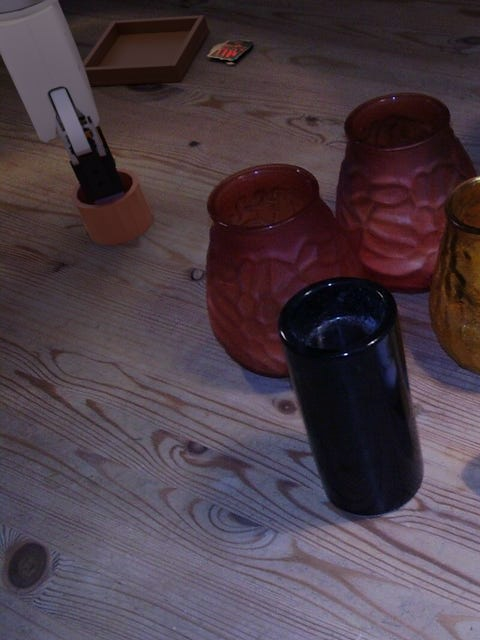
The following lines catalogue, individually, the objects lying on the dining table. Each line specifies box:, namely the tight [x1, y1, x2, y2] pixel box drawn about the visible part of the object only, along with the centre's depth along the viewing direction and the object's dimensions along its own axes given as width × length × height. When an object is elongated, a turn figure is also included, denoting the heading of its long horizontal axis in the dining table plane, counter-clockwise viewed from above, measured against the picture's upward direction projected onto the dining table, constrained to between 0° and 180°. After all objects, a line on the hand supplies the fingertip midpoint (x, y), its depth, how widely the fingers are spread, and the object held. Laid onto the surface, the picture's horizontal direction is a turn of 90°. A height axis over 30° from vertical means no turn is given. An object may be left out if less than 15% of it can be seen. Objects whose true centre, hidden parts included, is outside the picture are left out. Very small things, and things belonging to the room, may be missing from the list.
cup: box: [71, 167, 155, 246], centre depth 89 cm, size 6×6×4 cm
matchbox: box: [207, 38, 254, 66], centre depth 111 cm, size 5×5×1 cm
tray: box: [82, 14, 210, 87], centre depth 112 cm, size 11×11×2 cm
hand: (102, 181), depth 87 cm, fingers open, 3 cm apart
